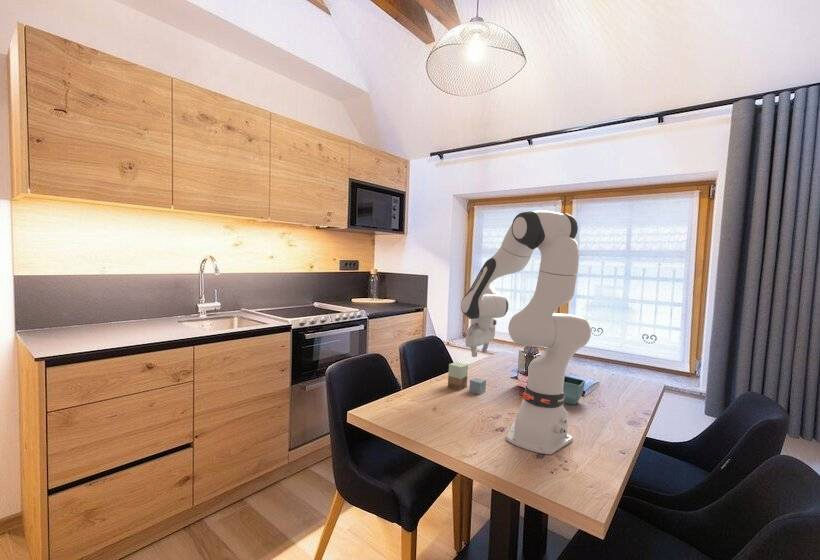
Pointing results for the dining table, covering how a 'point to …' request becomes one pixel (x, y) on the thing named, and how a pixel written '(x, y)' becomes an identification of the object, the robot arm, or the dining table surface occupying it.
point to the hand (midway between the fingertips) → (479, 354)
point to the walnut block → (457, 383)
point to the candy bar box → (523, 360)
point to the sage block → (458, 370)
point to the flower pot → (573, 389)
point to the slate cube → (477, 386)
